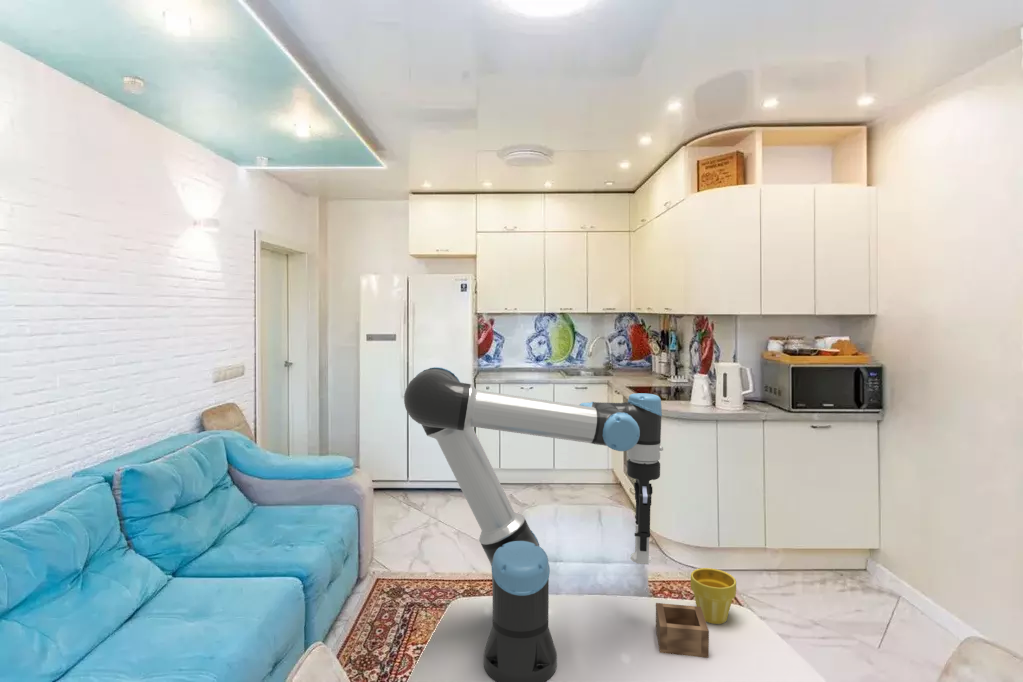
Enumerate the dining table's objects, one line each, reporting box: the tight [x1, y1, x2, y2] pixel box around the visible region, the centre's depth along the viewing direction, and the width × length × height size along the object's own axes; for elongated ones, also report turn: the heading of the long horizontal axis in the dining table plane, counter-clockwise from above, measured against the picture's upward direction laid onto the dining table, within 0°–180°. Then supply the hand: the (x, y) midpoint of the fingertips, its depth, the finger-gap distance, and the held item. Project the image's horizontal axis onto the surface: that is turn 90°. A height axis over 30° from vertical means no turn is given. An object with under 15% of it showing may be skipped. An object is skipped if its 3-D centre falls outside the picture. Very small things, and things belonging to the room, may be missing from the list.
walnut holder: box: [655, 602, 710, 659], centre depth 120 cm, size 10×10×6 cm
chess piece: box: [629, 551, 653, 564], centre depth 127 cm, size 5×5×10 cm
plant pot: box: [690, 567, 737, 625], centre depth 130 cm, size 10×10×10 cm
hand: (641, 558), depth 127 cm, fingers closed on chess piece, 5 cm apart
